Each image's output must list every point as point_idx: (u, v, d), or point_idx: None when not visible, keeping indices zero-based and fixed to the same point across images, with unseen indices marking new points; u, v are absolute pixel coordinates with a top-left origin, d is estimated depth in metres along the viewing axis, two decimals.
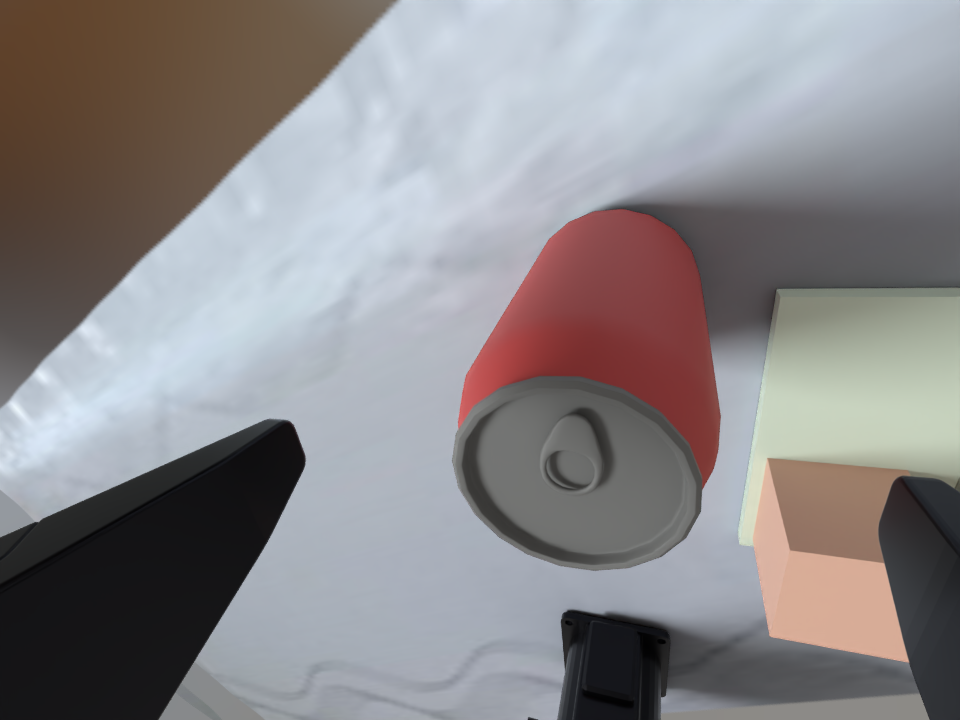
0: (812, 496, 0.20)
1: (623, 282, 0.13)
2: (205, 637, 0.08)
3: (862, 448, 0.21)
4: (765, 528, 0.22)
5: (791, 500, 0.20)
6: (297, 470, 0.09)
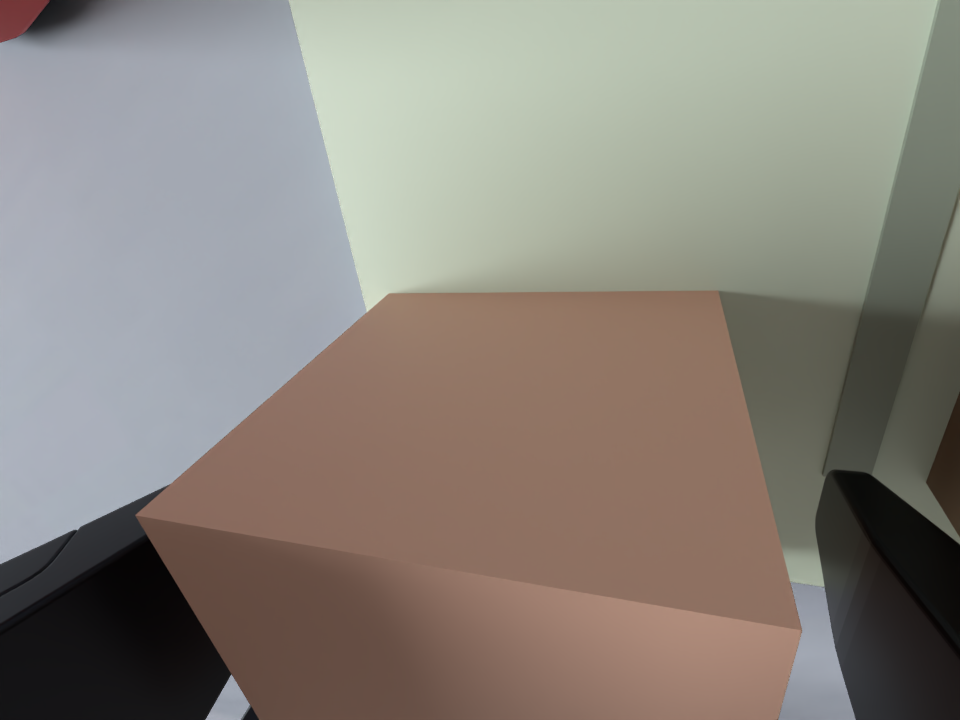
0: (404, 358, 0.06)
1: None
2: None
3: (587, 229, 0.07)
4: None
5: (336, 370, 0.06)
6: None
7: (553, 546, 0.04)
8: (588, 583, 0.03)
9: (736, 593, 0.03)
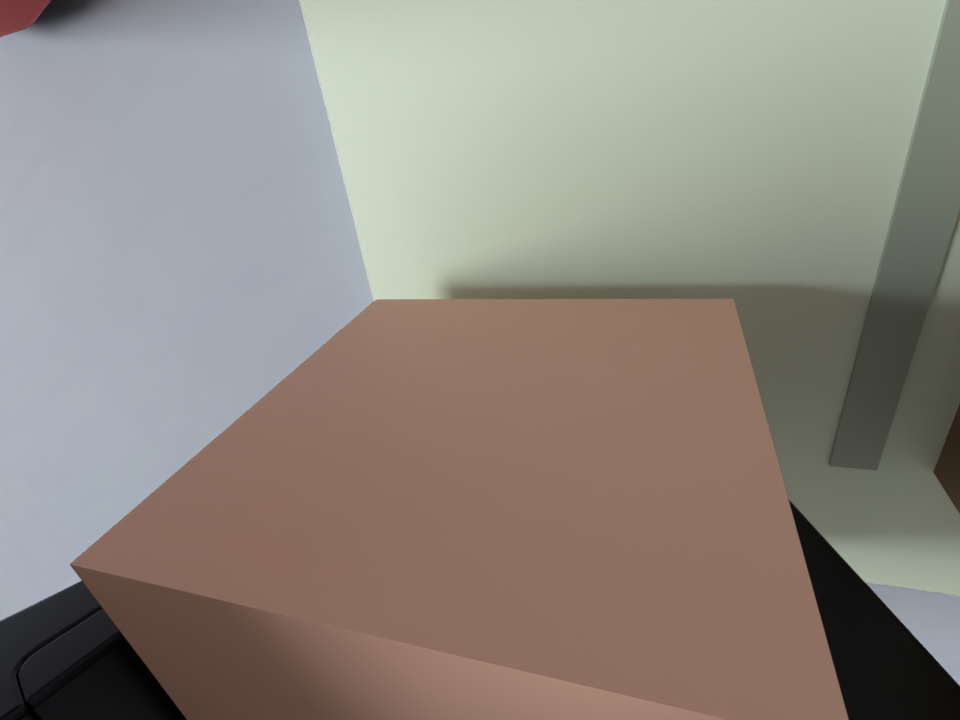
0: (388, 375, 0.06)
1: None
2: None
3: (594, 218, 0.07)
4: None
5: (312, 387, 0.06)
6: None
7: (548, 618, 0.03)
8: (588, 673, 0.03)
9: (770, 692, 0.03)
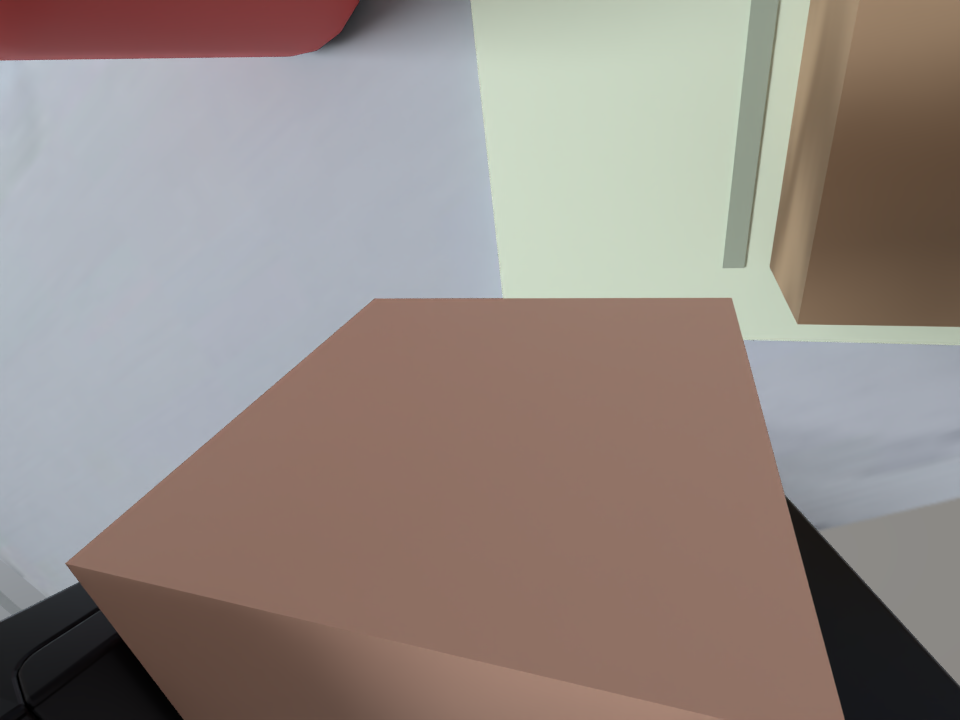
0: (386, 373, 0.06)
1: None
2: None
3: (608, 142, 0.15)
4: None
5: (309, 386, 0.06)
6: None
7: (543, 617, 0.03)
8: (583, 672, 0.03)
9: (766, 691, 0.02)
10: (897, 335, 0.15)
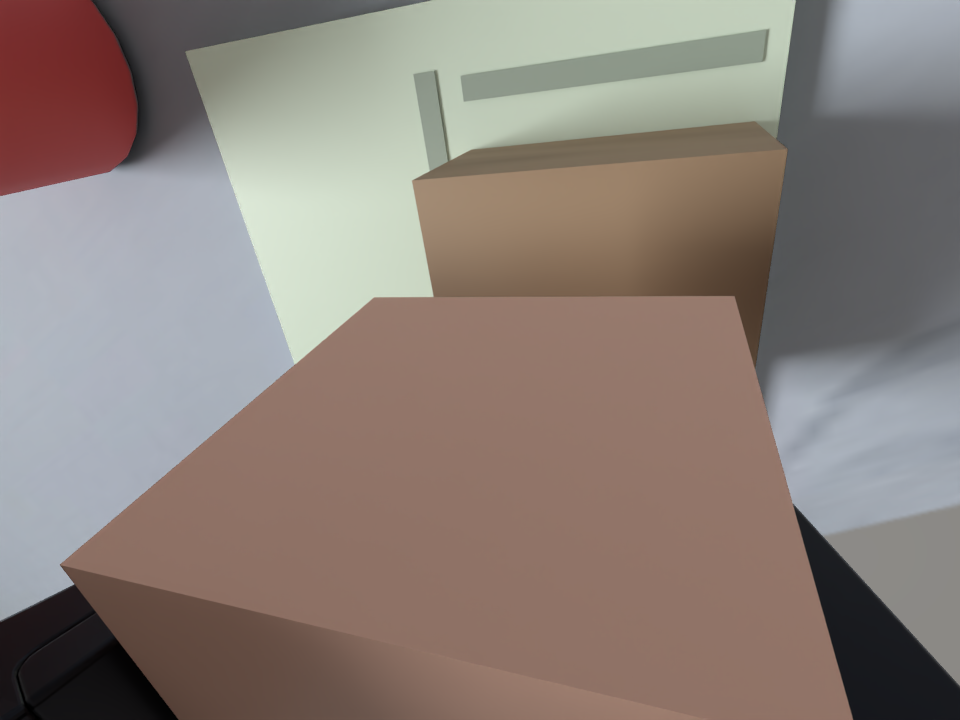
0: (385, 373, 0.06)
1: None
2: None
3: (350, 261, 0.17)
4: None
5: (308, 385, 0.06)
6: None
7: (545, 619, 0.03)
8: (585, 674, 0.03)
9: (773, 696, 0.02)
10: None
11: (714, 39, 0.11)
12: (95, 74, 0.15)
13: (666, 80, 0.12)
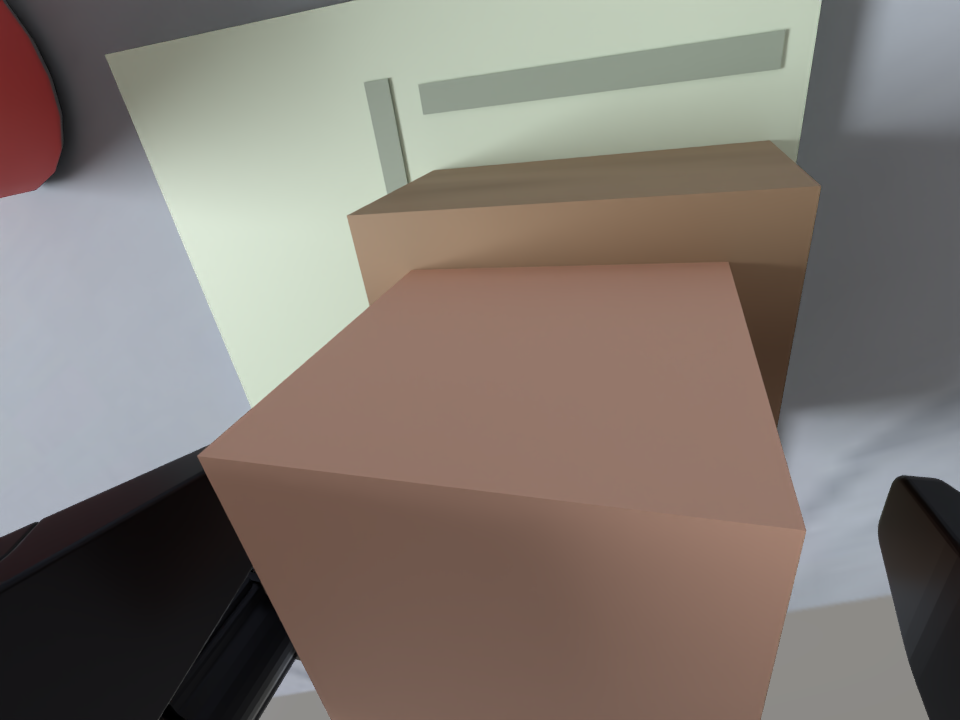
0: (432, 324, 0.07)
1: None
2: (205, 637, 0.08)
3: (304, 293, 0.15)
4: None
5: (367, 335, 0.07)
6: None
7: (582, 472, 0.04)
8: (614, 499, 0.04)
9: (747, 504, 0.03)
10: None
11: (721, 41, 0.09)
12: (2, 81, 0.13)
13: (662, 91, 0.10)
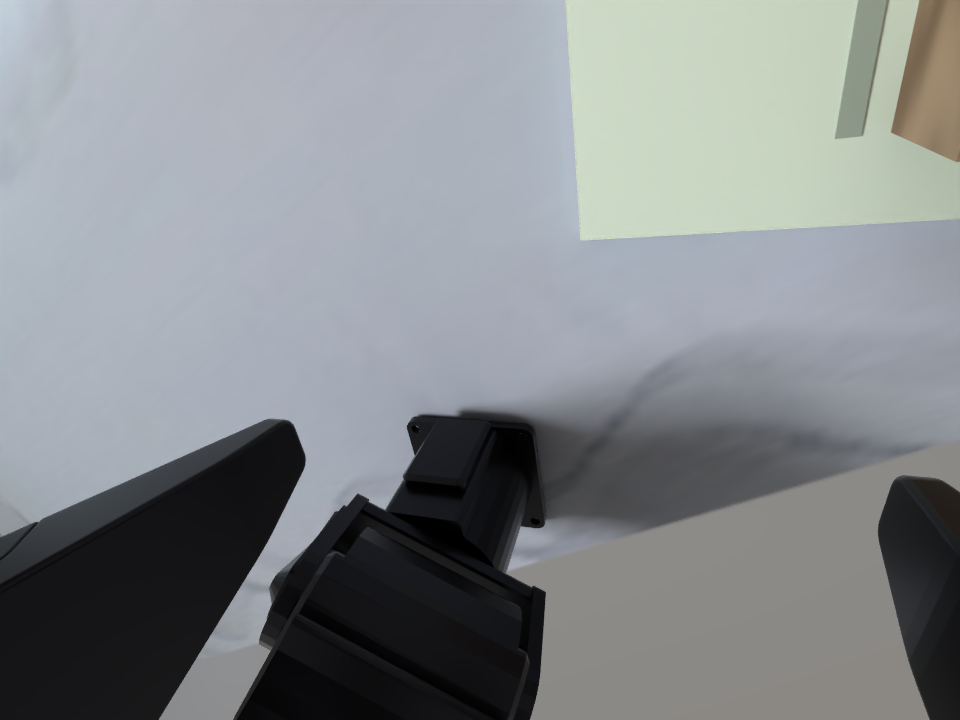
0: None
1: None
2: (205, 637, 0.08)
3: None
4: None
5: None
6: (297, 470, 0.09)
7: None
8: None
9: None
10: None
11: None
12: None
13: None
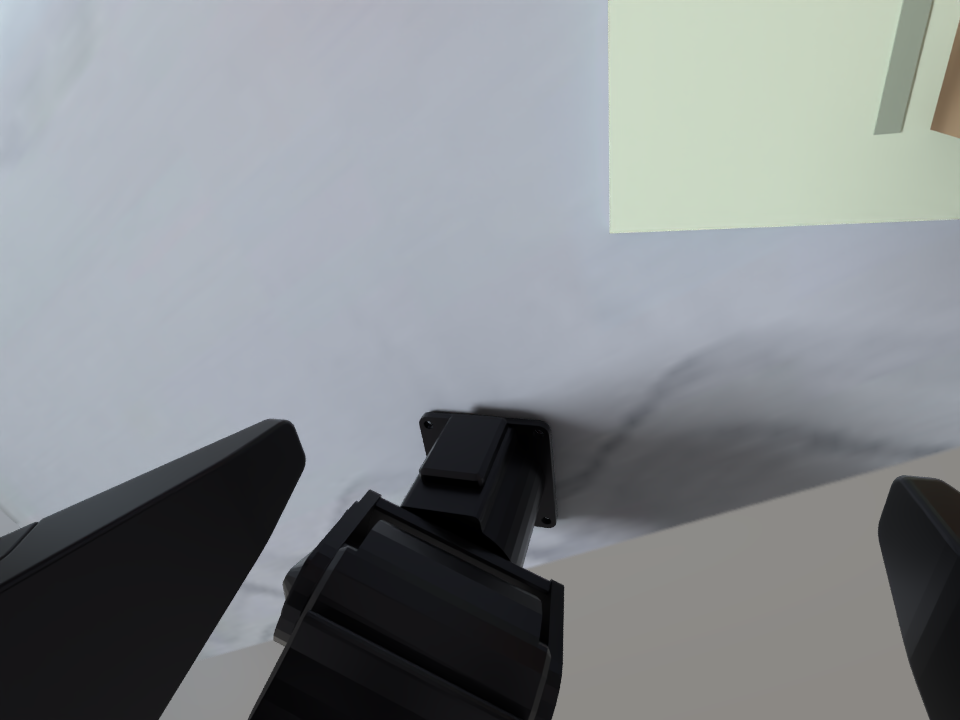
0: None
1: None
2: (205, 637, 0.08)
3: None
4: None
5: None
6: (297, 470, 0.09)
7: None
8: None
9: None
10: None
11: None
12: None
13: None
